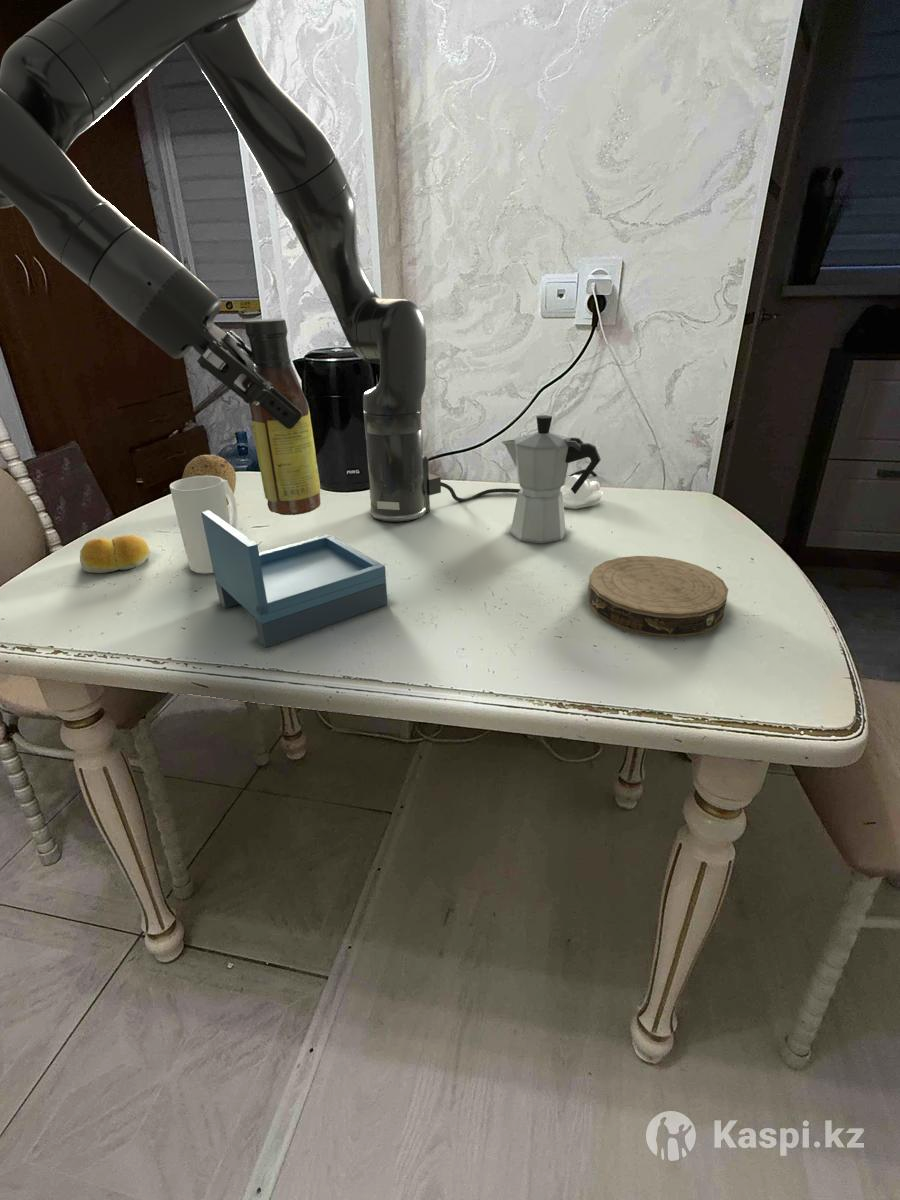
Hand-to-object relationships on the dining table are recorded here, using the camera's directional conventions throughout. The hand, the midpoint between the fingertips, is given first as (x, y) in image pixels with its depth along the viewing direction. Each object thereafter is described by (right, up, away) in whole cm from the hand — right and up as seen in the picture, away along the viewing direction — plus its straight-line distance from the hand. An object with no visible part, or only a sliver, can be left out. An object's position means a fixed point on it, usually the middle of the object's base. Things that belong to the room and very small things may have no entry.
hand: (297, 415), depth 67 cm
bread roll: (-32, -15, +23) cm, 42 cm away
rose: (+39, -2, +45) cm, 59 cm away
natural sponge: (-25, -5, +42) cm, 49 cm away
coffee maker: (+31, -10, +30) cm, 45 cm away
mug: (-17, -14, +23) cm, 32 cm away
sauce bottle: (-2, -10, +4) cm, 11 cm away
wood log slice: (+41, -21, +9) cm, 47 cm away
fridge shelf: (-2, -20, +10) cm, 23 cm away
